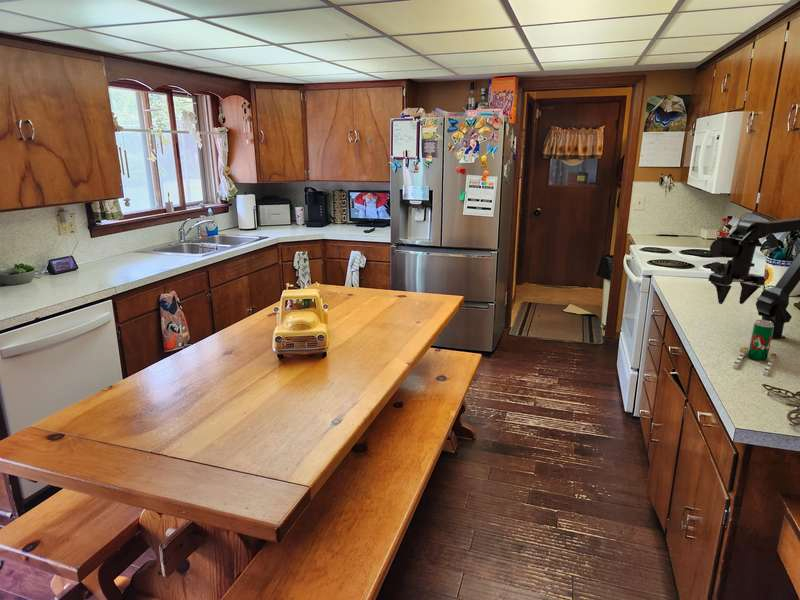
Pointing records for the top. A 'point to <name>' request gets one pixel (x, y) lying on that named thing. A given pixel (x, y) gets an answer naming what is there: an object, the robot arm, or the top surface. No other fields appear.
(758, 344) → the soda can
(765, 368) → the fader track
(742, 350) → the tabs
